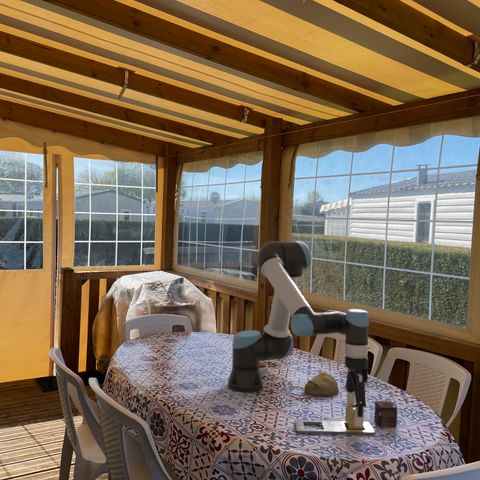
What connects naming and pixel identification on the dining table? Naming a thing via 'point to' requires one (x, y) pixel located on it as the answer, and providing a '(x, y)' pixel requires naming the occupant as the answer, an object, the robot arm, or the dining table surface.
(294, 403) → the dining table surface
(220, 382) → the dining table surface
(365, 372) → the beverage can
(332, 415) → the dining table surface
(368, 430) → the grey board with holes
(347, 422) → the gold block with hole
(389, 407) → the box
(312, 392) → the pastry
